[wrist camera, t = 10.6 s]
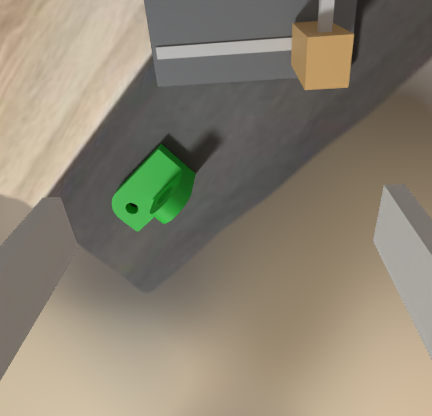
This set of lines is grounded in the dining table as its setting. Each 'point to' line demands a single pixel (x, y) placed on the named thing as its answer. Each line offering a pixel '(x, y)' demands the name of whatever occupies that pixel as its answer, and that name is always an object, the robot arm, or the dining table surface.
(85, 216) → the dining table surface
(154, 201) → the mechanical part
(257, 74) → the plate
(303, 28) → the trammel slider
